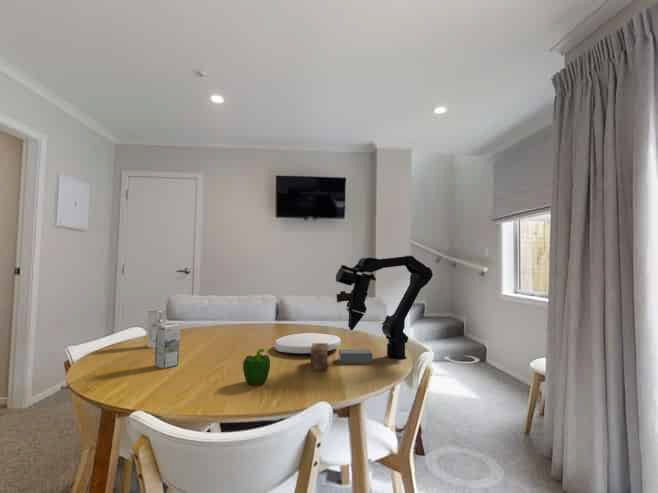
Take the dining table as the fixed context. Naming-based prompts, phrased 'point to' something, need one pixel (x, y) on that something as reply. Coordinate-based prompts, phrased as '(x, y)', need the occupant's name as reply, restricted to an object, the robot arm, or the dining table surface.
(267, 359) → the bell pepper
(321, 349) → the walnut shelf
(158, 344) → the syrup box
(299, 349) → the plate
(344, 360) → the slate slab
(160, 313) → the beer glass
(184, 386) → the dining table surface
